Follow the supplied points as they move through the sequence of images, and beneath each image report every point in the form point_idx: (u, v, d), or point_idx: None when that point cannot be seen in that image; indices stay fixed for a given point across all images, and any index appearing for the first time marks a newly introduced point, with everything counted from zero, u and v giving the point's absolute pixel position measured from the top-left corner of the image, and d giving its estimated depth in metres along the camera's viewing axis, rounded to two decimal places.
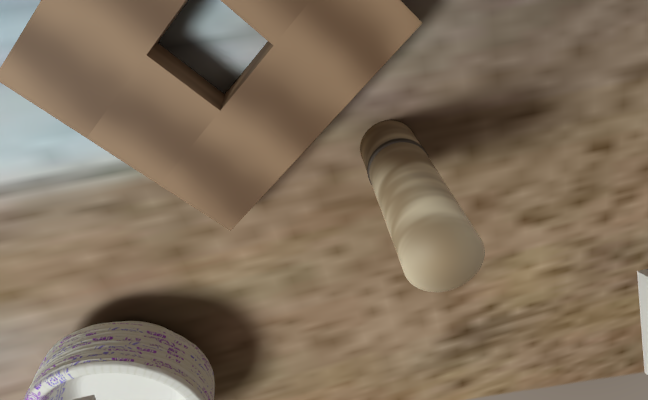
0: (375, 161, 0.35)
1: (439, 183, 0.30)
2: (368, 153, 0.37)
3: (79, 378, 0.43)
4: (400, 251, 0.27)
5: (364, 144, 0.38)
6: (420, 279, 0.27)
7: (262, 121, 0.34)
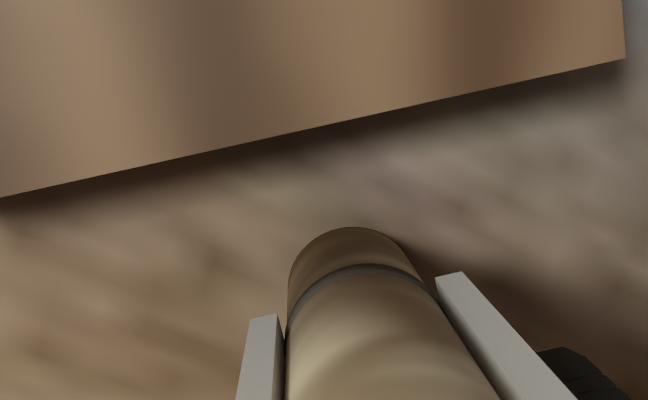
0: (336, 290, 0.12)
1: None
2: (320, 266, 0.14)
3: None
4: None
5: (317, 248, 0.16)
6: None
7: (137, 9, 0.12)
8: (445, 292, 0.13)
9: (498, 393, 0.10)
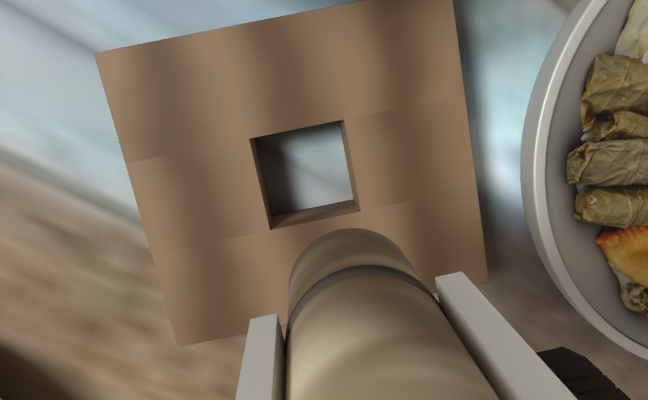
0: (337, 292, 0.12)
1: None
2: (320, 268, 0.14)
3: None
4: None
5: (317, 249, 0.16)
6: None
7: None
8: (445, 292, 0.13)
9: (498, 393, 0.10)
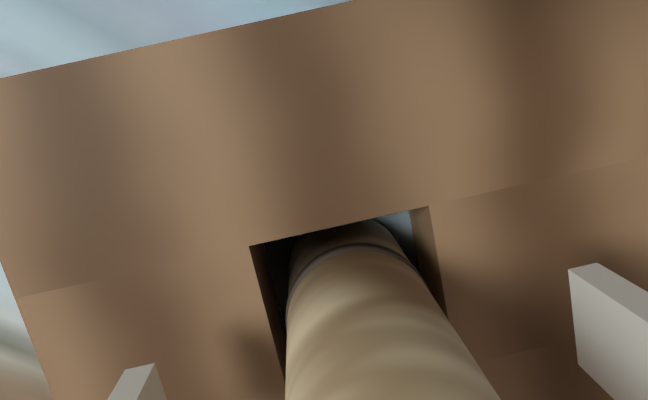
0: (331, 265, 0.14)
1: None
2: (317, 247, 0.16)
3: None
4: None
5: (314, 232, 0.18)
6: None
7: None
8: (590, 285, 0.12)
9: None
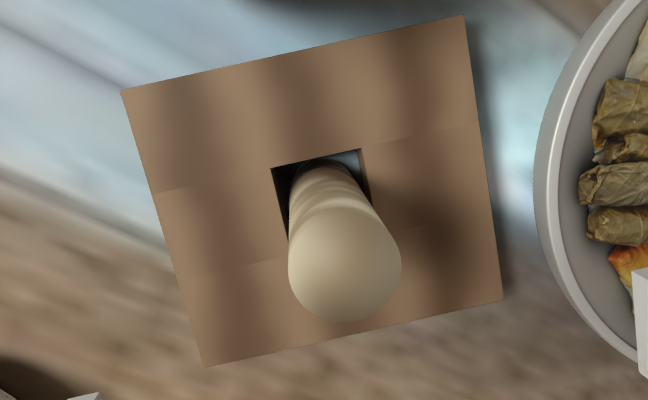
0: (311, 174, 0.29)
1: None
2: (305, 170, 0.31)
3: None
4: (301, 229, 0.20)
5: (304, 167, 0.32)
6: (301, 279, 0.19)
7: None
8: None
9: None
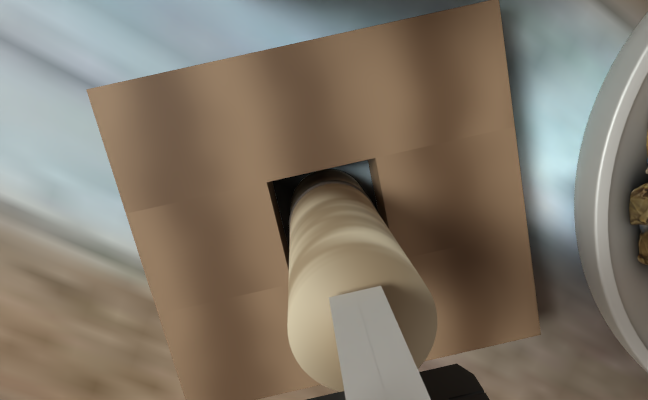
0: (316, 190, 0.24)
1: None
2: (308, 185, 0.26)
3: None
4: (305, 273, 0.15)
5: (307, 179, 0.28)
6: (305, 340, 0.15)
7: None
8: (359, 307, 0.13)
9: None
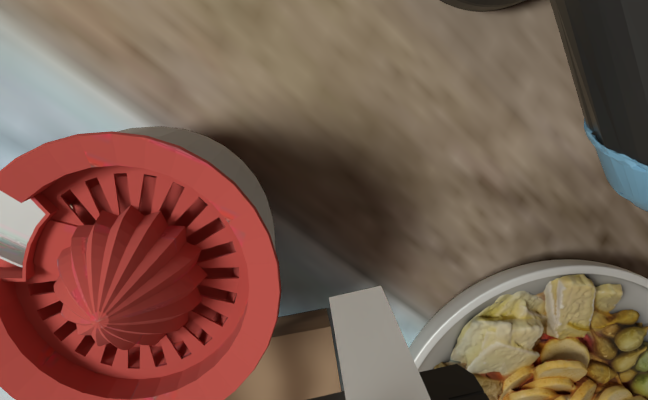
0: None
1: None
2: None
3: None
4: None
5: None
6: None
7: None
8: (359, 307, 0.13)
9: None
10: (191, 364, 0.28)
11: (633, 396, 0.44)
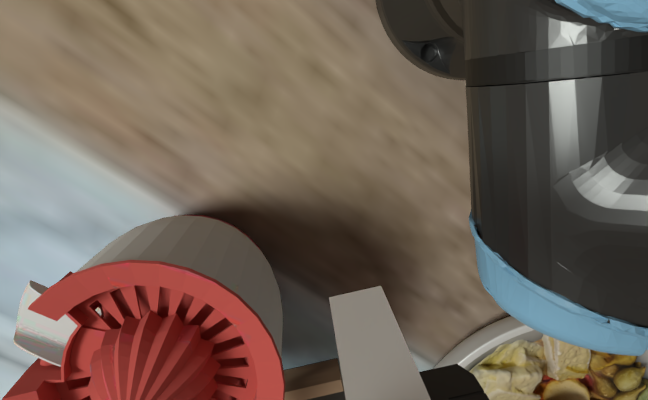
0: None
1: None
2: None
3: None
4: None
5: None
6: None
7: None
8: (359, 307, 0.13)
9: None
10: None
11: None
